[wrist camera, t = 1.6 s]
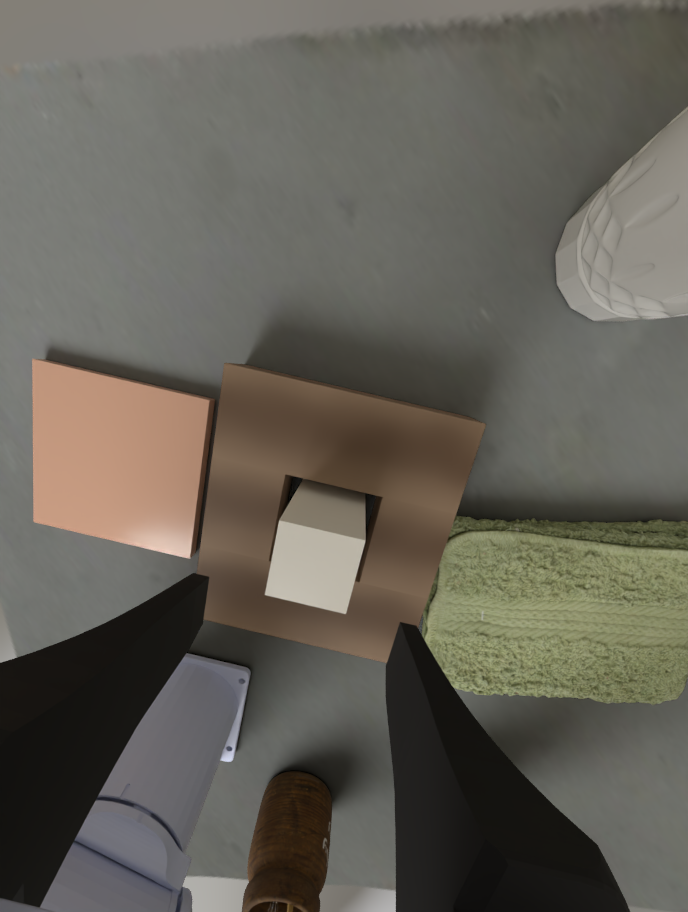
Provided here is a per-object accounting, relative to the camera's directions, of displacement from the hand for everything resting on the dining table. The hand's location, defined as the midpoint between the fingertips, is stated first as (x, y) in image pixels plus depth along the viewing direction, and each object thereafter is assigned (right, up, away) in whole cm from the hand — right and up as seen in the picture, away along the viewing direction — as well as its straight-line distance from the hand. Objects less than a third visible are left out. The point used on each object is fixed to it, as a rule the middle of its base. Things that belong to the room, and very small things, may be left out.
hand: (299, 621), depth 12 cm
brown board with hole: (+1, +3, +10) cm, 10 cm away
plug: (+1, +3, +10) cm, 10 cm away
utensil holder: (-2, -23, +17) cm, 28 cm away
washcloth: (+16, -4, +11) cm, 20 cm away
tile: (-13, +6, +10) cm, 17 cm away
